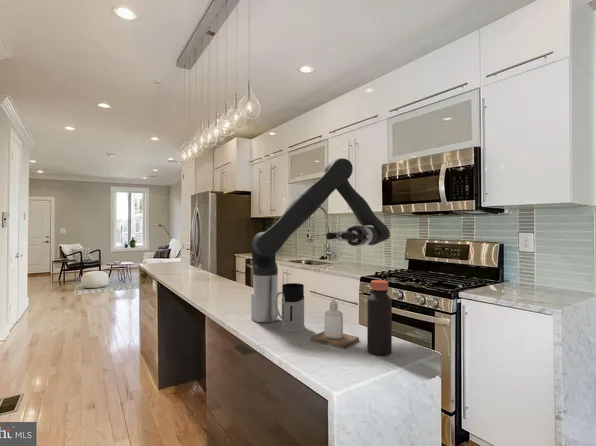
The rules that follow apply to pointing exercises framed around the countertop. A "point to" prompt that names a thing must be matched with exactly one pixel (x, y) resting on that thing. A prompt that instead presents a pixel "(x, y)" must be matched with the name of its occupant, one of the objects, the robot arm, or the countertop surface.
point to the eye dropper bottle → (333, 322)
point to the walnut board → (335, 340)
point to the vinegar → (379, 319)
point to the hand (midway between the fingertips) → (338, 236)
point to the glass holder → (292, 307)
